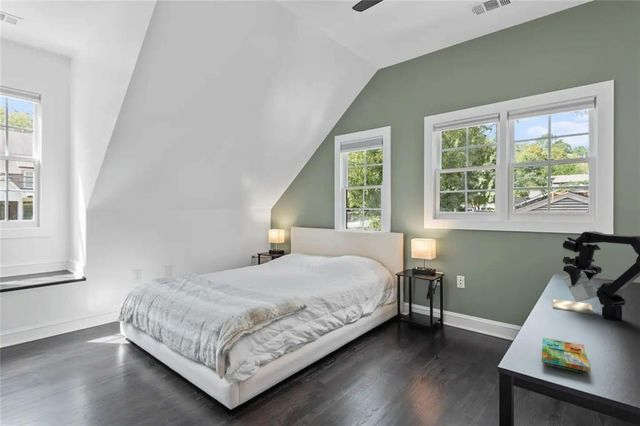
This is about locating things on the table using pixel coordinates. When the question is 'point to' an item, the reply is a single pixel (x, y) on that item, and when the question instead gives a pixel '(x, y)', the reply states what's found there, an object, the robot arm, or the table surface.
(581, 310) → the gold metal board
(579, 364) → the puzzle game
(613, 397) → the table surface
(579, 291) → the supplement box
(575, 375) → the table surface
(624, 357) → the table surface
